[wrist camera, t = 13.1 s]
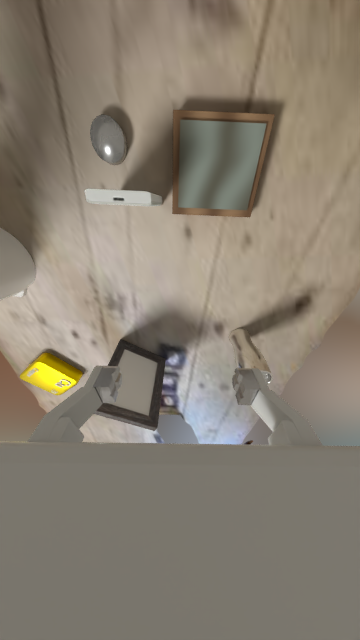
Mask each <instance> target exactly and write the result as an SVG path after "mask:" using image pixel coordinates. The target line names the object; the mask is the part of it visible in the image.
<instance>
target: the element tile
mask: <svg viewBox="0 0 360 640" xmlns="http://www.w3.org/2000/svg"><path fill="white" fill-rule="evenodd" d="M82 375H83V373H82V372H81V371H80V370H78V369H76V368H75V367H73V366H71V365H69V364H68V363H66V362H64V361H62V360H61V359H59V358H57V357H55V356H54V355H52V354H50V353H43V354H41V355H40V356H39V357H38V358H37V359H36V360H35V361H34V362H33V363H32V364H30V365H29V366H28V367H27V368H26V369H25V370H24V371H23V372H22V374H21V375H20V378H21V379H22V380H24V381H27V382H29V383H31V384H33V385H35V386H37V387H40V388H42V389H44V390H46V391H48V392H50V393H52V394H55V395H61V394H63V393H64V392H66V391H67V390H69V389H70V388H72V387H73V386H75V385H76V384H77V383H78V382H79V380H80V378H81V377H82Z"/></svg>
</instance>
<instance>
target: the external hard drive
mask: <svg viewBox="0 0 360 640" xmlns="http://www.w3.org/2000/svg"><path fill="white" fill-rule="evenodd" d="M84 192H85V196H86V201H87V202H89V203H93V204H112V205H133V206H160V205H162V196H160V195H157V194H153V193H150V192H147V191H130V190H108V189H85V190H84Z"/></svg>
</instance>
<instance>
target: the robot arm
mask: <svg viewBox="0 0 360 640" xmlns="http://www.w3.org/2000/svg"><path fill="white" fill-rule="evenodd" d="M35 277H36V268H35V264H34V262H33V260H32V258H31V256H30V254H29V253H28V251H27V250H26V249H25V247H24V246H23V245H22V244H21V243H20V242H19V241H18V240H17V239H16V238H15V237H14V236H12V235H11V234H10V233H8V232H7V231H5V230H4V229H2V228H0V301H1V300H3V299H6V298H8V297H10V296H17V297H23V296H25V295H26V293H27V288H28V287H29V286H30V285H31V284H32V283H33V282H34V280H35ZM119 371H120V368H119V366H96V367H95V368H94V369H93V371H92V373H91V375H90V377H89V379H88V380H87V382H86V384H85V386H84V387H81V388H80V389H79V390H77V391H76V392H75V393H73V394H72V395H71V396H70V397H68V398H67V399H66V400H64V401H63V402H62V403H60V404H59V405H58V406H57V407H55V408H54V409H53V410H51V411H50V412H49V413H47V414H46V415H45V416H44V417H43V419H42V420H41V422H40V423H39V425H38V426H37V428H36V429H35V431H34V432H33V434H32V435H31V437H30V439H29V440H28V442H11V441H0V640H360V446H323V445H322V444H321V442H320V440H319V439H318V437H317V435H316V434H315V432H314V430H313V429H312V427H311V425H310V423H309V422H308V420H307V419H306V418H304V417H303V416H302V415H301V414H300V413H298V412H297V411H296V410H295V409H294V408H292V407H291V406H290V405H289V404H288V403H287V402H285V401H284V400H283V399H282V398H280V397H279V396H278V395H277V394H276V393H275V392H273V391H272V390H269V388H268V386H267V384H266V381H265V379H264V377H263V375H262V373H261V371H260V370H259V369H258V368H236V369H235V375H233V379H232V383H233V388H234V390H235V391H236V392H237V393H236V398H237V402H238V405H251V407H252V408H253V409H254V410H255V411H256V412H257V414H258V415H259V416H260V417H261V418H262V419H263V421H264V422H265V423H266V424H267V425H268V426H269V428H270V429H271V430H272V431H273V433H272V434H271V435H270V437H269V438H268V441H269V444H270V445H232V444H160V443H87V442H82V441H83V438H84V436H83V434H82V433H81V431H80V430H79V428H80V427H81V426H82V425H83V424H84V423H85V422H86V421H87V420H88V419H89V418H90V417H91V416H92V414H93V413H94V412H95V411H96V410H97V409H98V408H99V407H100V406H101V405H102V403H115V402H116V399H117V396H118V391H117V390H118V389H119V388H120V387H121V384H122V374H121V373H120V372H119Z"/></svg>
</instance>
